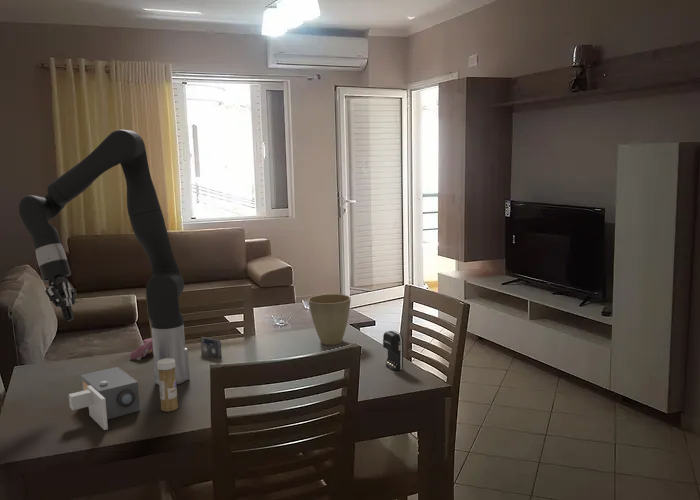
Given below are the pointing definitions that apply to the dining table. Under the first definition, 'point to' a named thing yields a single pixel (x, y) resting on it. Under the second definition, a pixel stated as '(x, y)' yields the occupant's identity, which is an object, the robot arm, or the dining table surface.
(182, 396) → the dining table surface
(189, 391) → the dining table surface
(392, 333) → the battery charger
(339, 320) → the plant pot
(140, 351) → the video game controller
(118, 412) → the box
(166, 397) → the sprinkles bottle
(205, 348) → the mini dv tape
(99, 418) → the side cover
